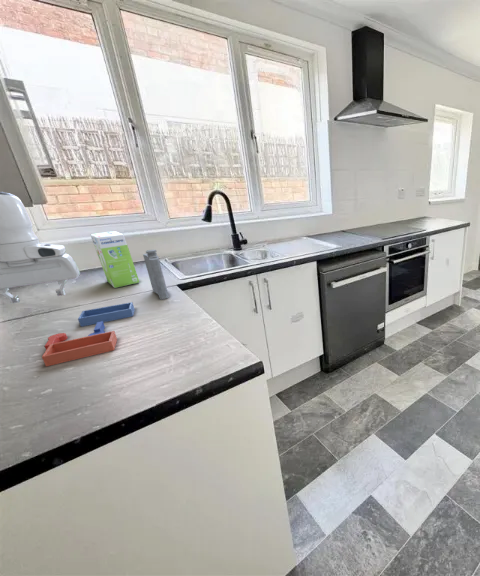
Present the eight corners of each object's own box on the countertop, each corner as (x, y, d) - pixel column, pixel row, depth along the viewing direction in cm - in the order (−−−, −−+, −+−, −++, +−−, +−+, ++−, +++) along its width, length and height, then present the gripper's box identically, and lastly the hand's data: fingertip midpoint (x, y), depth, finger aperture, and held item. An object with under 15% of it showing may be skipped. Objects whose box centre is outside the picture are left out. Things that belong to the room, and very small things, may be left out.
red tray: (46, 368, 83) (41, 356, 81) (54, 354, 89) (50, 344, 88) (114, 351, 90) (111, 341, 89) (117, 340, 96) (114, 330, 95)
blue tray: (81, 328, 105) (77, 318, 104) (85, 319, 111) (82, 310, 110) (133, 317, 113) (130, 308, 111) (134, 310, 119) (132, 302, 118)
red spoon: (61, 351, 91) (57, 343, 90) (41, 355, 88) (38, 347, 87) (69, 337, 99) (66, 329, 98) (52, 340, 97) (48, 332, 96)
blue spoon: (94, 330, 103) (91, 323, 102) (110, 327, 105) (107, 320, 104) (89, 343, 95) (85, 335, 94) (105, 340, 97) (103, 332, 96)
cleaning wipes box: (105, 281, 154) (89, 233, 146) (131, 276, 162) (117, 230, 154) (113, 289, 143) (96, 237, 135) (140, 283, 151) (125, 234, 143)
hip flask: (152, 292, 139) (140, 248, 132) (163, 289, 141) (152, 246, 135) (160, 301, 128) (148, 254, 121) (172, 298, 131) (160, 252, 124)
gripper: (-46, 260, 77) (-21, 311, 81) (66, 248, 87) (83, 294, 92) (-34, 255, 81) (-10, 303, 86) (71, 245, 92) (87, 288, 97)
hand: (39, 298), depth 89 cm, fingers open, 8 cm apart
